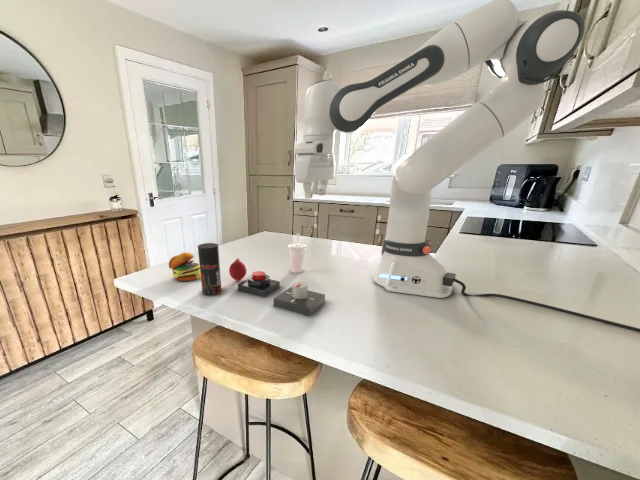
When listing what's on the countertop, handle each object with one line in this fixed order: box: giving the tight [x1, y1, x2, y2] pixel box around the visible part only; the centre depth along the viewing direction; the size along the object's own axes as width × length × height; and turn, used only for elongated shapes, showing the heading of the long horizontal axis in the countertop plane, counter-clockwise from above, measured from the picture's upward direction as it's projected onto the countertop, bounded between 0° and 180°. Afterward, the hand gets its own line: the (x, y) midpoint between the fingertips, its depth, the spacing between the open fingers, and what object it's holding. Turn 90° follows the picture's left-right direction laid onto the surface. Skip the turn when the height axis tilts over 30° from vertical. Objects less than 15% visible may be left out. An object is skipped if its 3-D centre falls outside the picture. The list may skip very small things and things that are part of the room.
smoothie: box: [287, 232, 307, 274], centre depth 110 cm, size 6×6×14 cm
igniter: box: [237, 273, 281, 298], centre depth 97 cm, size 10×9×4 cm
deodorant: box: [197, 242, 222, 297], centre depth 93 cm, size 6×6×15 cm
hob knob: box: [291, 281, 309, 299], centre depth 85 cm, size 4×4×4 cm
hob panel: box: [273, 286, 326, 317], centre depth 86 cm, size 11×10×3 cm
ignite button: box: [251, 270, 266, 280], centre depth 96 cm, size 4×4×2 cm
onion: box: [228, 257, 247, 282], centre depth 103 cm, size 6×6×8 cm
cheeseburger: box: [168, 251, 201, 282], centre depth 108 cm, size 10×11×10 cm
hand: (315, 196), depth 94 cm, fingers open, 8 cm apart
